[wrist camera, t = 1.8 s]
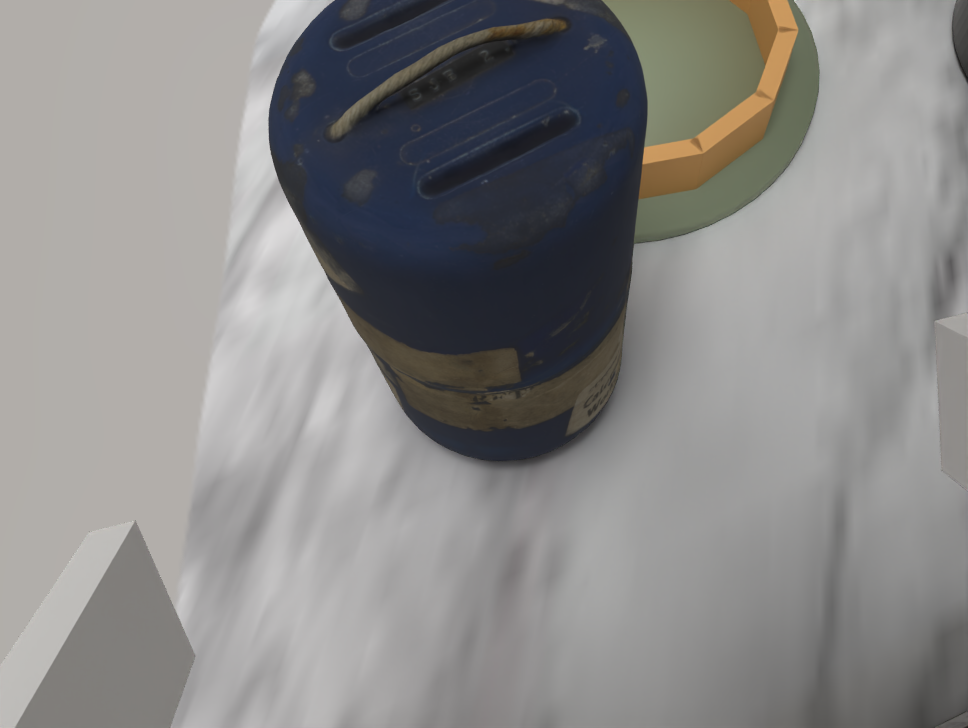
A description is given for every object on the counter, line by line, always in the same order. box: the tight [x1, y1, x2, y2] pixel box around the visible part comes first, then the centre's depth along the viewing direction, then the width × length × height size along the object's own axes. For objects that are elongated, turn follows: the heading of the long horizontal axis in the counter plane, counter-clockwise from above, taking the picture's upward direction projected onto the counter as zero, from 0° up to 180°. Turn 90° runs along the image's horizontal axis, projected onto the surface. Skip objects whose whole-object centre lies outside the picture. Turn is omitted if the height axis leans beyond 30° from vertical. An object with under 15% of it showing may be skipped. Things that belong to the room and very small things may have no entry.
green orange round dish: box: [602, 0, 819, 243], centre depth 39 cm, size 18×18×3 cm
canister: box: [269, 0, 648, 461], centre depth 27 cm, size 10×10×18 cm
